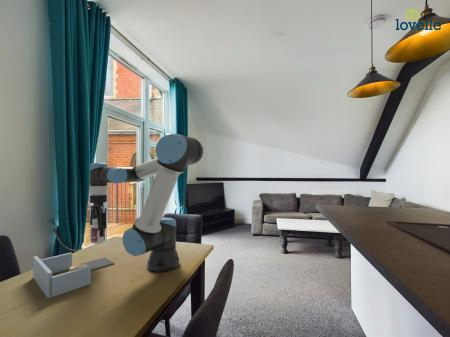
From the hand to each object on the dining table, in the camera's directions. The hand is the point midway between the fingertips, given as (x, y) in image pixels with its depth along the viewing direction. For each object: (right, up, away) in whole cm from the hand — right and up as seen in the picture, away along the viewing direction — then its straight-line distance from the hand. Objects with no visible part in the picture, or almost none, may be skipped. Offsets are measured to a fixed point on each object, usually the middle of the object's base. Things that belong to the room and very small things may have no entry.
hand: (97, 241), depth 112 cm
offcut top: (-2, -9, -12) cm, 15 cm away
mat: (0, -11, 0) cm, 11 cm away
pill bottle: (0, -1, 0) cm, 1 cm away
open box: (-6, -11, -17) cm, 21 cm away
